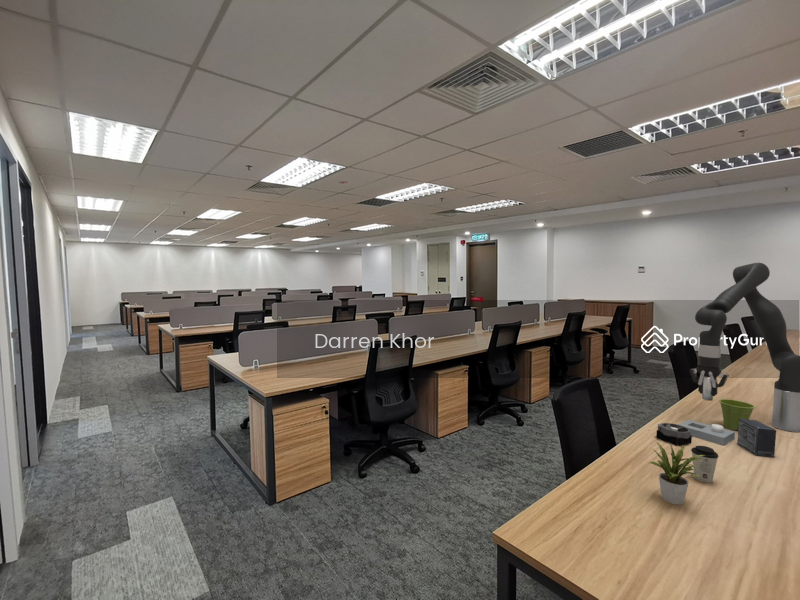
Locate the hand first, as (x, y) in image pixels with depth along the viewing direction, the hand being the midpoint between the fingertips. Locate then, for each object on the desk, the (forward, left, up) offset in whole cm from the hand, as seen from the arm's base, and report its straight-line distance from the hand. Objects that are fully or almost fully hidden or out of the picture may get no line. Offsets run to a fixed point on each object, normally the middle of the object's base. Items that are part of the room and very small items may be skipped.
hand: (707, 394), depth 164 cm
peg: (0, 0, -2) cm, 2 cm away
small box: (+10, +19, -16) cm, 26 cm away
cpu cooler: (+26, -2, -16) cm, 31 cm away
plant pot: (-12, +7, -15) cm, 21 cm away
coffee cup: (+53, +17, -15) cm, 58 cm away
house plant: (+76, +18, -15) cm, 79 cm away
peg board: (+9, +3, -15) cm, 18 cm away
